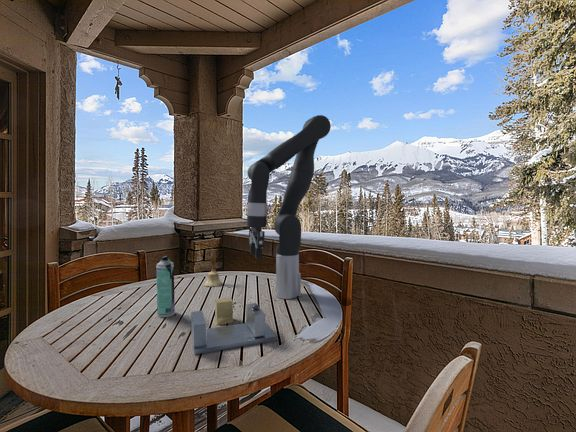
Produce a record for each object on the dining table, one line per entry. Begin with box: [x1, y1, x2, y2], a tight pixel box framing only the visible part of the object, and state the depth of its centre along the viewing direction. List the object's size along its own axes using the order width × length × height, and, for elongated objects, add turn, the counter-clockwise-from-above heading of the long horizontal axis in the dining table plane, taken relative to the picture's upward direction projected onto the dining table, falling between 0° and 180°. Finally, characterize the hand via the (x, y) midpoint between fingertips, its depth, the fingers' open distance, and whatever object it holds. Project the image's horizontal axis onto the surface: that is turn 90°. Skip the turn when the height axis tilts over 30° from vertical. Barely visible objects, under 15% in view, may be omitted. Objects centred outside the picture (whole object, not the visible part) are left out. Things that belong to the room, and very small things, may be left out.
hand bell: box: [203, 250, 223, 288], centre depth 141 cm, size 8×8×16 cm
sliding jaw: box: [245, 302, 266, 337], centre depth 89 cm, size 3×10×7 cm, turn 21°
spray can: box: [156, 255, 176, 318], centre depth 104 cm, size 6×6×20 cm
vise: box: [190, 310, 278, 355], centre depth 86 cm, size 22×12×7 cm, turn 111°
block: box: [214, 296, 234, 326], centre depth 98 cm, size 5×4×7 cm
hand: (255, 256), depth 119 cm, fingers open, 8 cm apart
